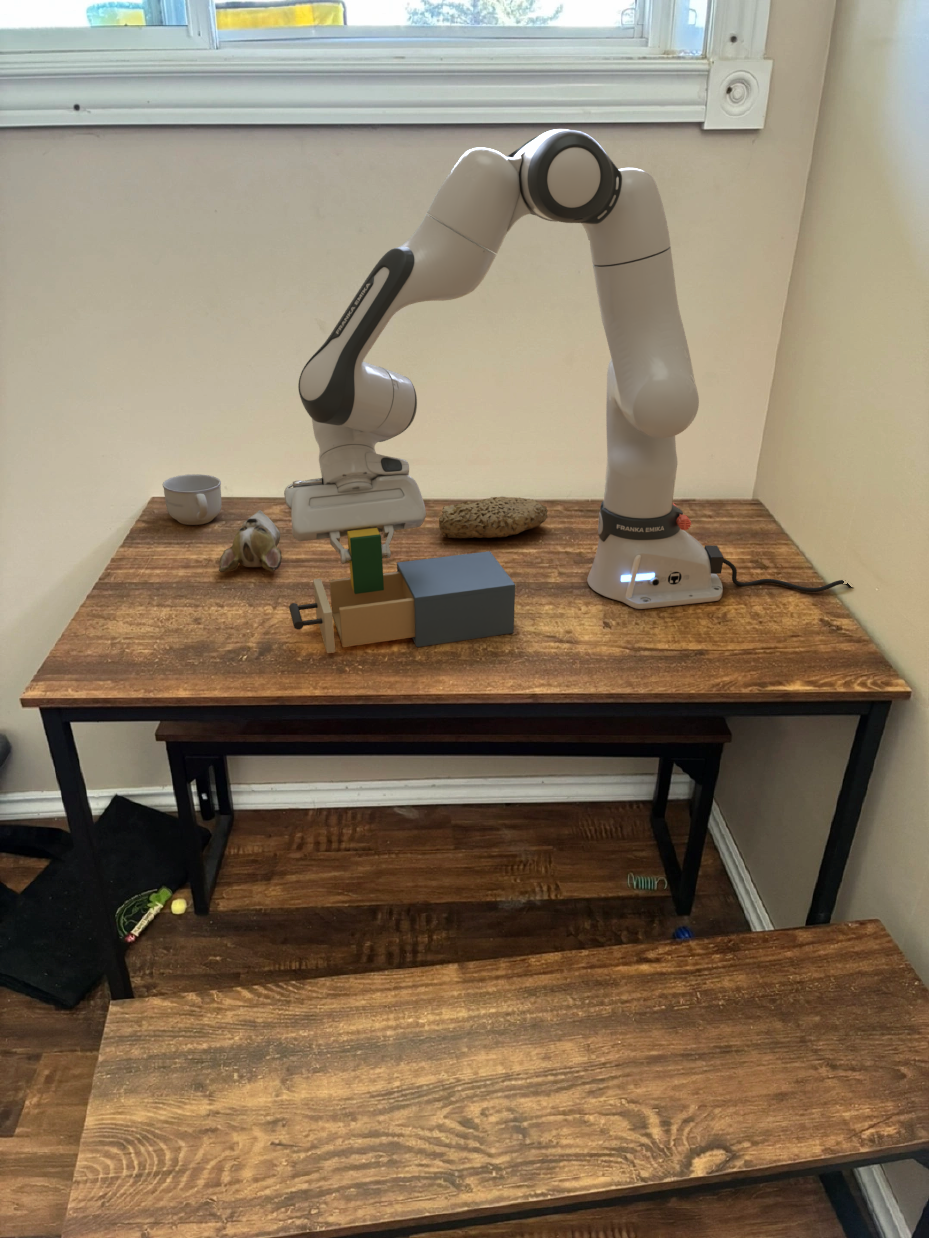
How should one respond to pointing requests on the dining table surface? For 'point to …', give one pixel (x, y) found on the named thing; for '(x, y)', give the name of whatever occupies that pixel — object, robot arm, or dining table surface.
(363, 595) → the drawer
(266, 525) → the ceramic sculpture
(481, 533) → the sponge
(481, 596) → the cabinet
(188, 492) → the teacup
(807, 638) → the dining table surface
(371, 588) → the scrub sponge
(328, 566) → the dining table surface
